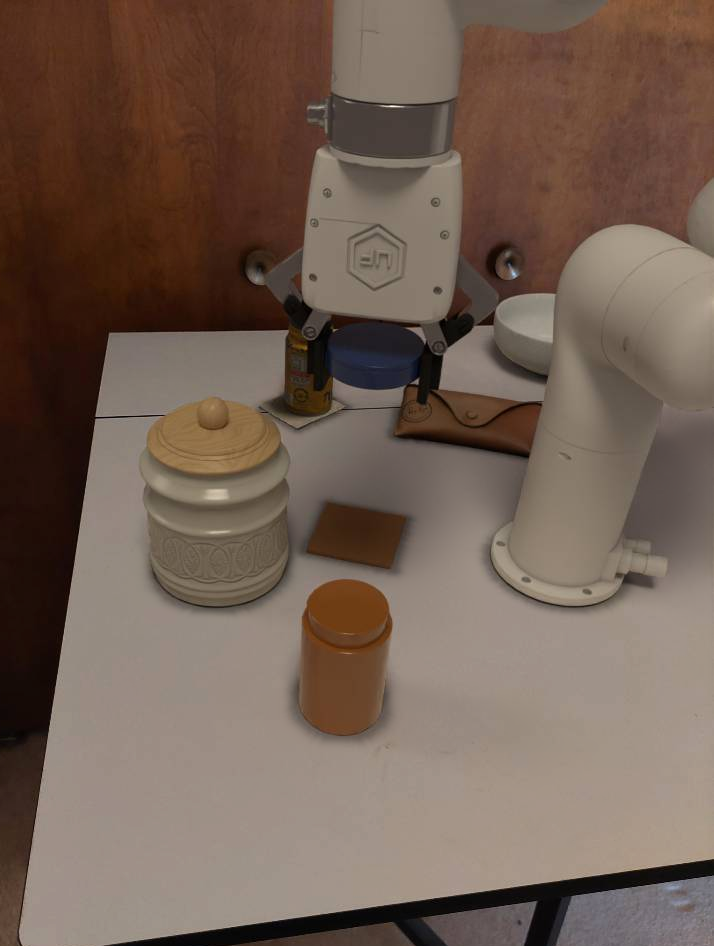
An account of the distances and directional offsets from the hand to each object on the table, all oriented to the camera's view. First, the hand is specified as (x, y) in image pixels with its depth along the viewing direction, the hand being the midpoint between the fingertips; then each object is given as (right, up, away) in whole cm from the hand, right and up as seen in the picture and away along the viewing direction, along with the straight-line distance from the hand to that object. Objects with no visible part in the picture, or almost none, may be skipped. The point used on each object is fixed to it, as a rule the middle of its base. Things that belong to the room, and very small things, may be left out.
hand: (372, 388), depth 60 cm
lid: (0, +2, -2) cm, 3 cm away
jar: (-13, -14, +17) cm, 26 cm away
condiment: (-6, +5, +41) cm, 42 cm away
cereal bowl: (+29, +13, +53) cm, 62 cm away
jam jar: (-2, -24, +4) cm, 25 cm away
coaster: (0, -11, +21) cm, 24 cm away
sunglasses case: (+15, +2, +38) cm, 41 cm away
